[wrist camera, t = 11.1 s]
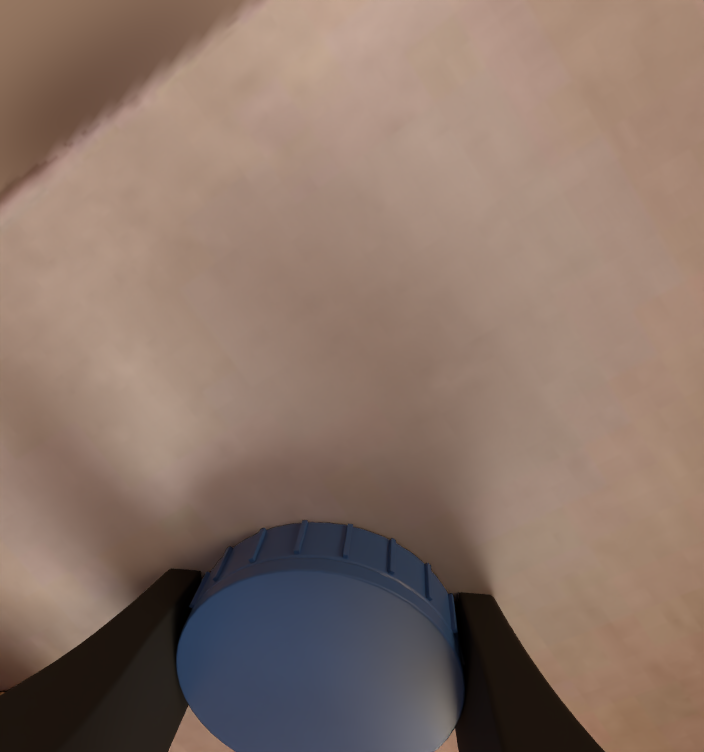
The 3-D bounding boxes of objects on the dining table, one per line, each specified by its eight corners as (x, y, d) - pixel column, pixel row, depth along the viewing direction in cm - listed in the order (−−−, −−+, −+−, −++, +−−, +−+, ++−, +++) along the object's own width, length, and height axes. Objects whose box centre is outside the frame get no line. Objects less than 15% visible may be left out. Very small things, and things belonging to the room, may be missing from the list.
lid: (447, 732, 13) (452, 798, 11) (208, 706, 13) (186, 766, 12) (474, 530, 11) (485, 583, 9) (187, 507, 11) (157, 554, 10)
